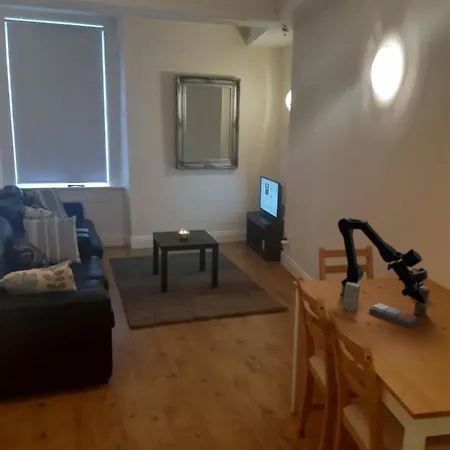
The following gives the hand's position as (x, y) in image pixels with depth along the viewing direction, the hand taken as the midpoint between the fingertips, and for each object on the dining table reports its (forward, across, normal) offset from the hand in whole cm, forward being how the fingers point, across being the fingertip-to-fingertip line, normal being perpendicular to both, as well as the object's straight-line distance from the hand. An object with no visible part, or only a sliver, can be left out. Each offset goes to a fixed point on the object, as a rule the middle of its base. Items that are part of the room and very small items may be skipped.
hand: (425, 301), depth 218 cm
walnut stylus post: (+4, 0, +6) cm, 7 cm away
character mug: (-2, +26, +12) cm, 29 cm away
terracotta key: (+1, -15, +7) cm, 16 cm away
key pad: (-2, -13, +12) cm, 18 cm away
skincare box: (-15, -16, +25) cm, 33 cm away
